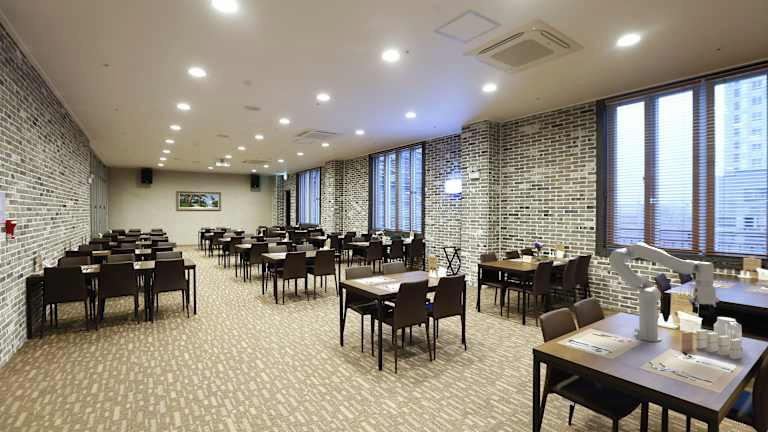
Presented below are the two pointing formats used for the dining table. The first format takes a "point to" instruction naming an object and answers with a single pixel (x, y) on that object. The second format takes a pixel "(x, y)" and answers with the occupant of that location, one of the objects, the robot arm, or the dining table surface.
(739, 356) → the domino
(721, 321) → the jar
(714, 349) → the domino
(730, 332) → the beer glass
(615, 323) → the dining table surface
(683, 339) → the domino
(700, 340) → the domino
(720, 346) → the domino
